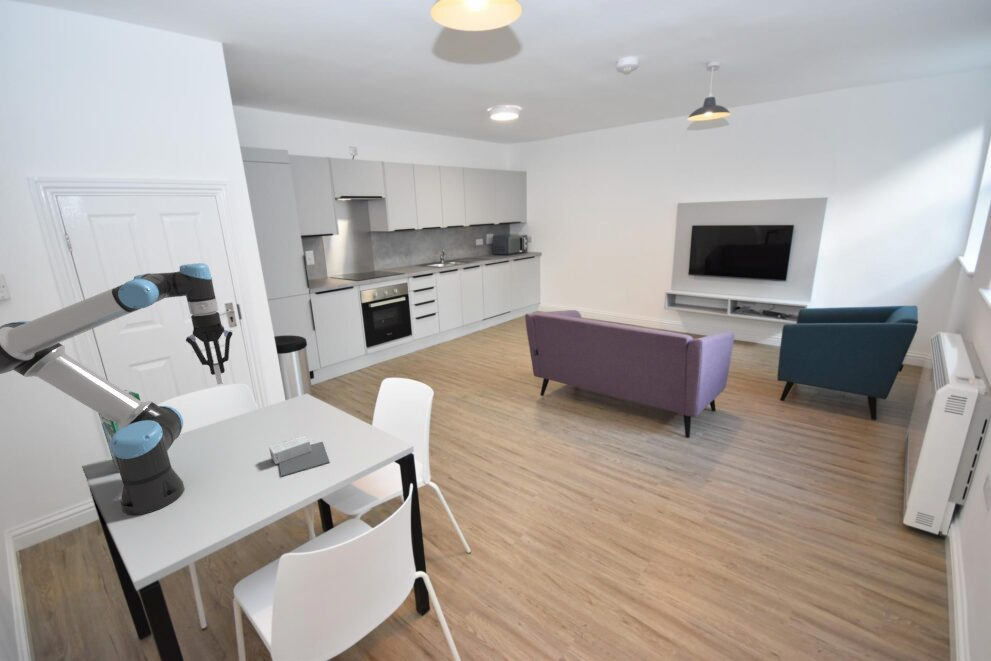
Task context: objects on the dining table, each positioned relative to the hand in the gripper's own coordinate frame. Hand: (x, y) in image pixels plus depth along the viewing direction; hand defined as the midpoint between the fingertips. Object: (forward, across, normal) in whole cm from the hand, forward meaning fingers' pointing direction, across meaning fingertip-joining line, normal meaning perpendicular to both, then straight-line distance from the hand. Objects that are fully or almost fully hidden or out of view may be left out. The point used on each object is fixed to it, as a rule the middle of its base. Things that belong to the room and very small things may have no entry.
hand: (220, 382), depth 143 cm
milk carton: (+30, -32, +21) cm, 48 cm away
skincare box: (+27, +10, -8) cm, 30 cm away
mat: (+29, +20, -11) cm, 37 cm away
